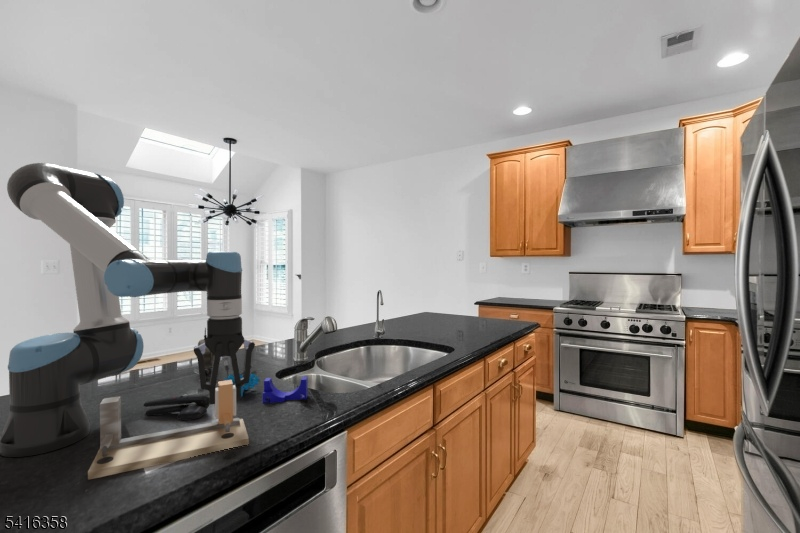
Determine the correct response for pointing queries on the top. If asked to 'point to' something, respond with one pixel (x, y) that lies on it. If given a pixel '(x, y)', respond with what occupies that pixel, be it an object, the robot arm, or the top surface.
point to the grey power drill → (207, 355)
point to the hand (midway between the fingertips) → (225, 415)
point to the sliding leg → (225, 403)
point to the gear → (245, 386)
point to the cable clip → (276, 395)
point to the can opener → (180, 406)
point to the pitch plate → (157, 442)
